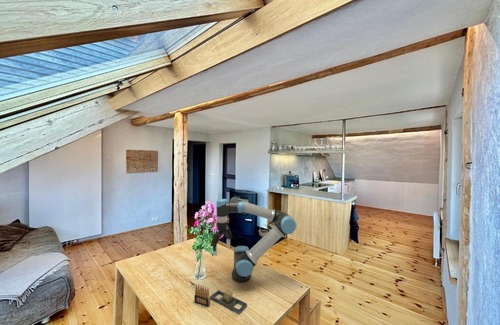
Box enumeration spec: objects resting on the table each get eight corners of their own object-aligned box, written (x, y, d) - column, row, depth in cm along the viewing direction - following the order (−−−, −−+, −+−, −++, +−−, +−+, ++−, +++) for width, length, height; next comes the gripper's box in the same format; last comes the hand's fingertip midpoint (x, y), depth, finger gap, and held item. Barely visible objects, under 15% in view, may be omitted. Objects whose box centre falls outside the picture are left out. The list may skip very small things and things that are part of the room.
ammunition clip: (210, 305, 127) (209, 286, 127) (208, 307, 125) (208, 288, 125) (196, 300, 131) (195, 282, 131) (194, 302, 129) (194, 284, 129)
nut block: (227, 299, 132) (227, 289, 132) (232, 302, 129) (232, 291, 129) (223, 303, 128) (223, 292, 128) (228, 306, 126) (228, 294, 126)
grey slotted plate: (218, 292, 139) (218, 289, 139) (247, 306, 125) (247, 303, 125) (210, 299, 132) (210, 296, 132) (239, 314, 119) (239, 311, 119)
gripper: (229, 216, 154) (229, 244, 154) (205, 225, 133) (205, 257, 134) (237, 218, 150) (237, 246, 150) (213, 227, 129) (213, 260, 129)
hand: (222, 251), depth 142 cm, fingers open, 13 cm apart
